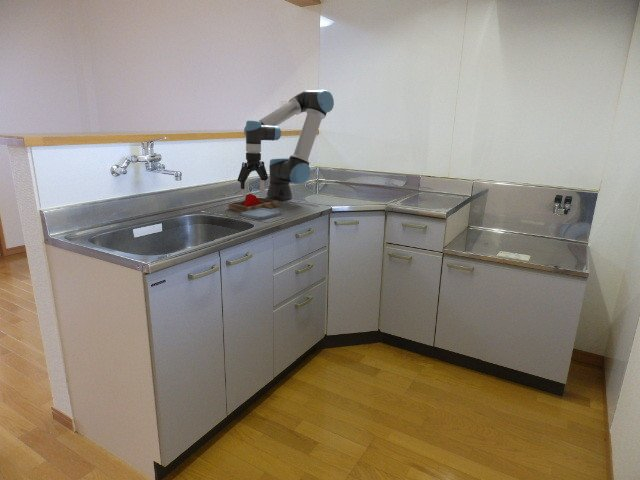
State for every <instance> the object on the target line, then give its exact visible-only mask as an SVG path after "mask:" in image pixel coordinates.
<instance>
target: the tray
mask: <svg viewBox="0 0 640 480" xmlns="http://www.w3.org/2000/svg"><path fill="white" fill-rule="evenodd" d="M239 215H240V217H243V218H244V217H245V218H249V219H254V220H257V221H262V220H267V219H270V218H271V219H272V218H273V217H278V216H281V215H282V211H279V210H274V209H271V208H270V209H265V208H259V209H254V210H250V211H246V212H240V213H239Z"/></svg>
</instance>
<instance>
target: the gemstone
mask: <svg viewBox="0 0 640 480" xmlns="http://www.w3.org/2000/svg"><path fill="white" fill-rule="evenodd" d="M244 200H245V204H244V206H246V207H250V206H255V205H259V204H261V203H260V202H259V201H260V200H259V199H258V197H257V195H254V194H252V193H248V194H247V193H246V196H245V199H244Z"/></svg>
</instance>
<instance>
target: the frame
mask: <svg viewBox="0 0 640 480" xmlns="http://www.w3.org/2000/svg"><path fill="white" fill-rule="evenodd" d="M257 198H258V199H259V200H260V201H259V202H260V204H259V205H255V206H250V207H246V206H244V204H245V199H244V200H239V201H234V202H229V203H228V210H231V211H235V212H240V213H241V212H246V211H250V210H254V209H259V208H265V209H270V210H271V209H273V208H274V209H275V208H277V207H279V204H280V200H273V199H268V198H267V197H266V198H265V197H257Z"/></svg>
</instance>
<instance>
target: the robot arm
mask: <svg viewBox="0 0 640 480" xmlns="http://www.w3.org/2000/svg"><path fill="white" fill-rule="evenodd" d="M334 106H335V102H334V97H333V94H332V93H331V92H330V91H329V90H325V89H315V90H314V89H313V90H312V89H308V90H304V91H302V92H300V93H298V94H296V95H295V96H293V97H291V98H290V99H289V100H288V102H287V103H286V104H283V105H282V106H280V107H278V108H277V109H275V110H274V111H272V112H271V113H269V114H267V115H266V116H264V117H262V118H261V119H260V120H246V122H245V127H243V128H244V129H243V133H244V135H245V152H246V153H245V160H246V162H242V163H241V168H240V171H239V175H238V177H237V180H236V181H237V182H239V183H240V189H241V190H240V191H241V196H245V197H246V195H247V182H246V181H247V179H248V177H249V176H250V174H252V172H254V171H255V172H256V174H257V175H258V177H259V178H260V180H259V193H262V194H264V193H265V189H266V188H265V187H266V181H268V179H269V185H268V188H267V192H266V199H271V200H277V201H285V200H292V199H293V193H292V189H291V185H290V184H294V185H302V184H304V183H306V182H307V181H308V180H309V179H310V177H311V167H310V166H309V165H310V161H309V157H310V155H311V151H312V149H313V146H314V144H315V140H316V137H317V134H318V132H319V128H320V126H321V123H322V121H323V119H325V118H326V116H327V113H330V112H331V111H332V110H333V109H334ZM303 113H306V116H305V120H304V123H303V125H302V128H301V131H300V135H299V137H298V140H297V143H296V146H295V149H294V152H293V154H291V155H290V156H289V157H285V158H282V157H281V158H272V159H270V160H269V165H268V166H269V169H268V170H269V171H268V172H269V176H268V172H267V168H266V166H265V162H264V161H263V160H262V154H261V152H262V141H271V142H272V141H278V140H280V138H281V137H282V130H281V128H280V126H279V125H281V124H282V123H284V122H286V121H287V120H289V119H291V118H292V117H294V116H295V115H300V114H303ZM261 160H262V161H261Z"/></svg>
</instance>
